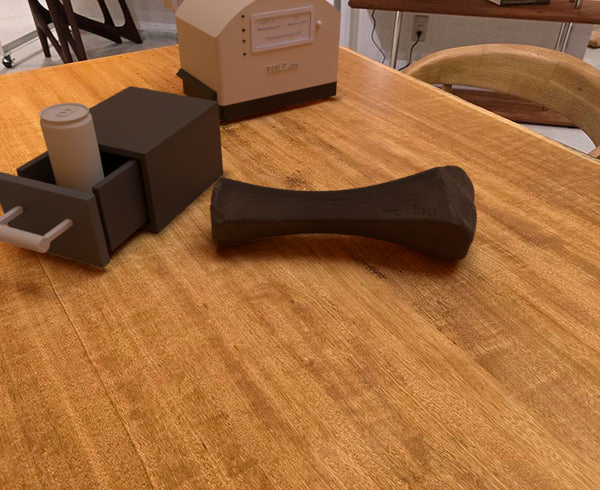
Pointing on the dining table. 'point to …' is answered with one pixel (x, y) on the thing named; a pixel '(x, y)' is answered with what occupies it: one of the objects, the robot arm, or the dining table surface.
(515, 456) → the dining table surface
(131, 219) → the dark grey drawer
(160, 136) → the dark brown drawer cabinet
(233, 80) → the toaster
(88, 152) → the beverage can
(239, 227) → the dark brown bone
